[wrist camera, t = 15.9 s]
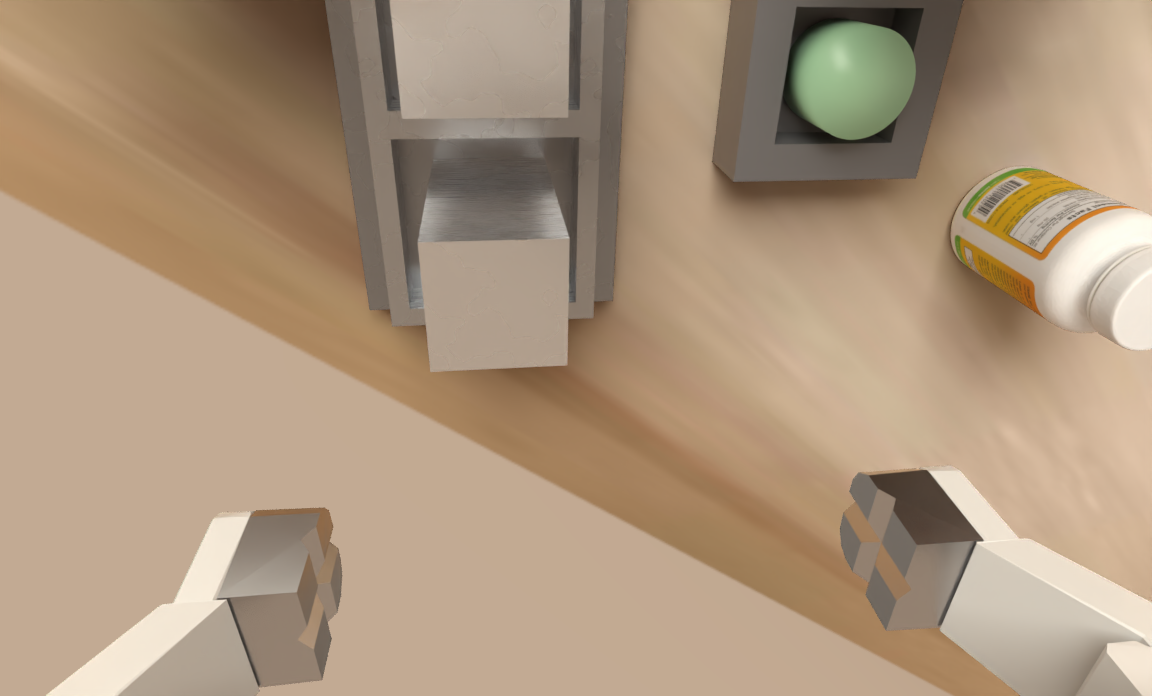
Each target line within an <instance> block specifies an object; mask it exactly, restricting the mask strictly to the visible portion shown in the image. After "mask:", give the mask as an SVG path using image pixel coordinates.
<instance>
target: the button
mask: <svg viewBox="0 0 1152 696" xmlns="http://www.w3.org/2000/svg"><path fill="white" fill-rule="evenodd" d="M915 75H916V64H915V58H914V55H913V52H912V49H911V47H910V45H909V44H908V42H907V41H906V40H905V39H904V38H903V37H902V36H901V35H900V34H899V33H897V32H896V31H893V30H891V29H889V28H885V27H880V26H876V25H872V24H867V23H863V22H858V21H854V20H850V19H845V18H832V19H827V20H824V21H821V22H819V23H817V24H815V25H813V26H812V27H810V28H809V29H807V30H806V31H805V32H804V33H802V34H801V35H800V37H799V38H798V39H797V40H796V41H795V42H794V44H793V45H792V47H791V48H790V51H789V57H788V64H787V70H786V76H785V82H784V89H783V96H784V99H785V101H786V103H787V105H788V106H789V108H790V109H791V110H792V111H793V112H794V113H795V114H796V115H797V116H799V117H801V118H803V119H804V120H806V121H808V122H810V123H811V124H813V125H815V126H817V127H819V128H820V129H822V130H824V131H826V132H827V133H829V134H831V135H833V136H835V137H838V138H841V139H846V140H856V139H862V138H866V137H869V136H872V135H874V134H876V133H878V132H879V131H881V130H883V129H884V128H885V127H887V126H888V125H889V124H890V123H892V122H893V121H894V120H895V119H896V117H897V116H898V115H899V114H900V113H901V111H902V110H903V108H904V107H905V105H906V103H907V102H908V100H909V98H910V95H911V93H912V90H913V87H914V82H915Z"/></svg>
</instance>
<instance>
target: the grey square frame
mask: <svg viewBox="0 0 1152 696" xmlns="http://www.w3.org/2000/svg"><path fill="white" fill-rule="evenodd" d="M963 1H964V0H731V8H730V16H729V25H728V33H727V42H726V50H725V59H724V67H723V76H722V84H721V93H720V101H719V110H718V119H717V127H716V136H715V144H714V153H713V161H712V162H713V163H714V164H715V165H716V166H718V167H719V168H720V169H721V170H722V171H723V172H724V173H725V174H726V175H727V176H728V177H729V178H730V179H731V180H732V181H733V182H752V181H804V180H857V179H910V178H916V176H917V172H918V169H919V165H920V161H921V158H922V154H923V150H924V146H925V143H926V139H927V135H928V131H929V128H930V124H931V120H932V116H933V113H934V109H935V105H936V101H937V98H938V94H939V90H940V87H941V83H942V79H943V75H944V72H945V68H946V64H947V60H948V57H949V53H950V49H951V45H952V42H953V38H954V34H955V30H956V27H957V23H958V19H959V15H960V12H961V8H962V4H963ZM832 18H845V19H850V20H854V21H858V22H863V23H867V24H872V25H876V26H880V27H885V28H889V29H891V30H893V31H896V32H897V33H899V34H900V35H901V36H902V37H903V38H904V39H905V40H906V41H907V42H908V44H909V45H910V47H911V49H912V52H913V55H914V58H915V64H916V75H915V82H914V87H913V90H912V93H911V95H910V98H909V100H908V102H907V103H906V105H905V107H904V108H903V110H902V111H901V113H900V114H899V115H898V116H897V117H896V119H895V120H894V121H893V122H892V123H890V124H889V125H888V126H887V127H885V128H884V129H883V130H881V131H879V132H878V133H876V134H874V135H872V136H869V137H866V138H862V139H856V140H846V139H841V138H838V137H835V136H833V135H831V134H829V133H827V132H826V131H824V130H822V129H820V128H819V127H817V126H815V125H813V124H811V123H810V122H808V121H806V120H804V119H803V118H801V117H799V116H797V115H796V114H795V113H794V112H793V111H792V110H791V109H790V108H789V106H788V105H787V103H786V101H785V99H784V96H783V89H784V82H785V76H786V70H787V64H788V57H789V51H790V48H791V47H792V45H793V44H794V42H795V41H796V40H797V39H798V38H799V37H800V35H801V34H802V33H804V32H805V31H806V30H807V29H809V28H810V27H812V26H813V25H815V24H817V23H819V22H821V21H824V20H827V19H832Z"/></svg>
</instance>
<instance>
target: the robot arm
mask: <svg viewBox="0 0 1152 696" xmlns="http://www.w3.org/2000/svg"><path fill="white" fill-rule="evenodd" d="M849 492H850V494H851V495H852V497H853V498H854V500H855V502H854V503H853V504H852V505H851V506H850V507H849V508H848V509H847V510H846V511H845V512H844V513H843V517H842V521H841V526H840V536H841V546H842V549H843V552H844V555H845V558H846V560H847V562H848V564H849V566H850V568H851V570H852V571H853V572H854V573H855V574H857V575H858V576H860V577H861V578H863V579H864V580H866V581H867V582H869V583H868V587H867V591H866V596H867V598H868V600H869V602H870V603H871V605H872V607H873V609H874V610H875V612H876V614H877V616H878V617H879V619H880V621H881V623H882V624H883V626H884V628H885V630H886V631H890V630H907V629H924V628H940V631H941V632H942V633H943V634H945V635H946V636H947V637H948V638H950V639H951V640H952V641H953V642H955V643H956V644H957V645H958V646H960V647H961V648H962V649H963V650H965V651H966V652H967V653H968V654H970V655H971V656H972V657H973V658H975V659H976V660H977V661H978V662H980V663H981V664H982V665H983V666H985V667H986V668H987V669H988V670H990V671H991V672H992V673H993V674H994V675H996V676H997V677H998V678H999V679H1001V680H1002V681H1003V682H1004V683H1006V684H1007V685H1008V686H1009V687H1011V688H1012V689H1013V690H1014V691H1016V692H1017V693H1018V694H1019V695H1021V696H1152V603H1151V602H1150V601H1148V600H1146V599H1144V598H1142V597H1140V596H1138V595H1136V594H1134V593H1132V592H1130V591H1129V590H1127V589H1125V588H1123V587H1121V586H1119V585H1117V584H1115V583H1113V582H1111V581H1109V580H1108V579H1106V578H1104V577H1102V576H1100V575H1098V574H1096V573H1094V572H1092V571H1090V570H1088V569H1087V568H1085V567H1083V566H1081V565H1079V564H1077V563H1075V562H1073V561H1071V560H1069V559H1067V558H1066V557H1064V556H1062V555H1060V554H1058V553H1056V552H1054V551H1052V550H1050V549H1048V548H1046V547H1045V546H1043V545H1041V544H1039V543H1037V542H1035V541H1033V540H1031V539H1029V538H1026V539H1019V538H1018V537H1017V536H1016V534H1015V533H1014V532H1013V531H1012V530H1011V529H1010V528H1009V526H1008V525H1007V524H1006V523H1005V522H1004V521H1003V519H1002V518H1001V517H1000V516H999V515H998V514H997V513H996V511H995V510H994V509H993V508H992V507H991V506H990V505H989V503H988V502H987V501H986V500H985V499H984V498H983V496H982V495H981V494H980V493H979V492H978V491H977V490H976V488H975V487H974V486H973V485H972V484H971V483H970V482H969V480H968V479H967V478H966V477H965V476H964V475H963V474H962V472H961V471H960V470H958V469H957V468H955V467H953V466H951V465H947V466H934V467H922V468H919V469H916V468H913V469H900V470H886V471H873V472H859V473H858V474H857V475H856V476H855V478H854V479H853V481H852V484H851V488H850V491H849ZM332 530H333V524H332V520H331V516H330V513H329V510H327V509H326V508H302V509H279V510H256V511H253V512H223V513H219V514H218V515H217V516H216V517H215V518H214V519H213V520H212V522H211V523H210V526H209V528H208V530H207V532H206V534H205V536H204V538H203V540H202V543H201V545H200V547H199V549H198V551H197V553H196V555H195V557H194V560H193V562H192V564H191V566H190V568H189V570H188V572H187V574H186V576H185V578H184V581H183V583H182V585H181V587H180V589H179V591H178V593H177V595H176V598H175V600H174V602H173V603H172V604H162V605H160V606H159V607H158V608H156V609H155V610H154V611H153V612H151V613H150V614H149V615H148V616H146V617H145V618H144V619H142V620H141V621H140V622H139V623H137V624H136V625H135V626H134V627H132V628H131V629H130V630H128V631H127V632H126V633H125V634H123V635H122V636H121V637H119V638H118V639H117V640H116V641H114V642H113V643H112V644H111V645H109V646H108V647H107V648H105V649H104V650H103V651H102V652H100V653H99V654H98V655H97V656H95V657H94V658H93V659H91V660H90V661H89V662H88V663H86V664H85V665H84V666H83V667H81V668H80V669H79V670H77V671H76V672H75V673H74V674H72V675H71V676H70V677H69V678H67V679H66V680H65V681H63V682H62V683H61V684H60V685H58V686H57V687H56V688H55V689H53V690H52V691H51V692H49V694H47V695H46V696H256V695H257V694H258V692H259V691H260V690H259V687H267V686H275V685H284V684H292V683H301V682H310V681H319V680H322V678H323V674H324V670H325V665H326V661H327V657H328V652H329V648H330V643H331V639H332V638H331V634H330V631H329V626H328V621H329V620H330V619H331V618H332V617H333V616H334V615H335V614H336V613H337V611H338V607H339V602H340V597H341V585H342V567H341V559H340V554H339V549H338V548H337V547H336V546H335V545H333V544H332V543H331V542H330V538H331V534H332Z"/></svg>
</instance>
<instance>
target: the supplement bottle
mask: <svg viewBox="0 0 1152 696" xmlns="http://www.w3.org/2000/svg"><path fill="white" fill-rule="evenodd" d="M951 244H952V247H953V250H954V252H955V254H956V256H957V257H958V259H959V260H960V261H961V262H962V263H964V264H965V265H966V266H967V267H969V268H970V269H972V270H973V271H975V272H976V273H978V274H979V275H980V276H982V277H984V278H985V279H987V280H988V281H990V282H991V283H993V284H994V285H996V286H997V287H999V288H1000V289H1002V290H1003V291H1005V292H1006V293H1008V294H1009V295H1011V296H1012V297H1013V298H1015V299H1016V300H1018V301H1019V302H1021V303H1022V304H1024V305H1025V306H1027V307H1028V308H1030V309H1031V310H1033V311H1034V312H1036V313H1037V314H1039V315H1040V316H1041V317H1043V318H1045V319H1046V320H1048V321H1049V322H1051V323H1053V324H1054V325H1056V326H1058V327H1060V328H1062V329H1065V330H1068V331H1071V332H1077V333H1092V332H1098V333H1099V334H1100V335H1102V336H1104V337H1106V338H1108V339H1109V340H1111V341H1113V342H1114V343H1116V344H1117V345H1119V346H1121V347H1123V348H1126V349H1129V350H1135V351H1144V350H1150V349H1152V215H1150V214H1148V213H1145V212H1143V211H1141V210H1138V209H1136V208H1133V207H1131V206H1128V205H1126V204H1123V203H1121V202H1118V201H1116V200H1113V199H1111V198H1109V197H1106V196H1104V195H1101V194H1099V193H1097V192H1094V191H1092V190H1089V189H1087V188H1084V187H1082V186H1080V185H1077V184H1075V183H1072V182H1070V181H1068V180H1065V179H1063V178H1060V177H1058V176H1055V175H1053V174H1051V173H1048V172H1046V171H1043V170H1040V169H1037V168H1034V167H1028V166H1015V167H1009V168H1006V169H1002V170H1000V171H998V172H995V173H993V174H992V175H990V176H988V177H986V178H985V179H983V180H982V181H981V182H979V183H978V184H977V185H976V186H974V187H973V188H972V189H971V190H970V191H969V192H968V194H967V195H966V196H965V197H964V199H963V200H962V201H961V203H960V205H959V206H958V208H957V210H956V212H955V215H954V218H953V221H952V225H951Z"/></svg>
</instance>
